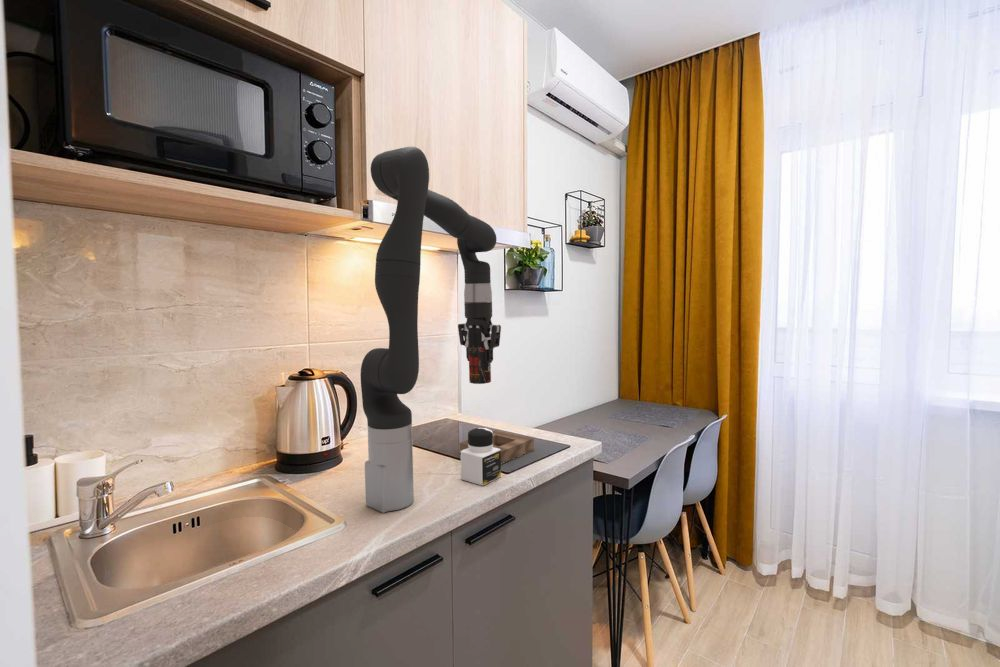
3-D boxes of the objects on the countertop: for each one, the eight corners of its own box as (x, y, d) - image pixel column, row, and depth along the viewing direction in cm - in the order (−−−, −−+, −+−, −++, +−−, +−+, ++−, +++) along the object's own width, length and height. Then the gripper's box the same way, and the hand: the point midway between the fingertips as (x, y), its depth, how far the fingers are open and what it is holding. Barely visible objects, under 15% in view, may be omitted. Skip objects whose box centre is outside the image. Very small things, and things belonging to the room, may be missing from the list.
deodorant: (470, 379, 133) (469, 326, 131) (491, 379, 132) (490, 326, 131) (468, 384, 127) (466, 328, 125) (490, 383, 126) (489, 328, 125)
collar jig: (498, 466, 123) (498, 452, 122) (459, 455, 131) (459, 442, 131) (534, 450, 135) (533, 438, 135) (496, 441, 144) (496, 430, 143)
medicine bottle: (483, 486, 109) (482, 435, 108) (460, 479, 114) (459, 430, 113) (501, 477, 115) (501, 428, 114) (479, 470, 119) (478, 424, 118)
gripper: (449, 301, 129) (451, 361, 131) (489, 301, 120) (491, 366, 122) (468, 300, 135) (469, 358, 136) (507, 300, 126) (508, 362, 127)
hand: (479, 361), depth 129 cm, fingers closed on deodorant, 6 cm apart
